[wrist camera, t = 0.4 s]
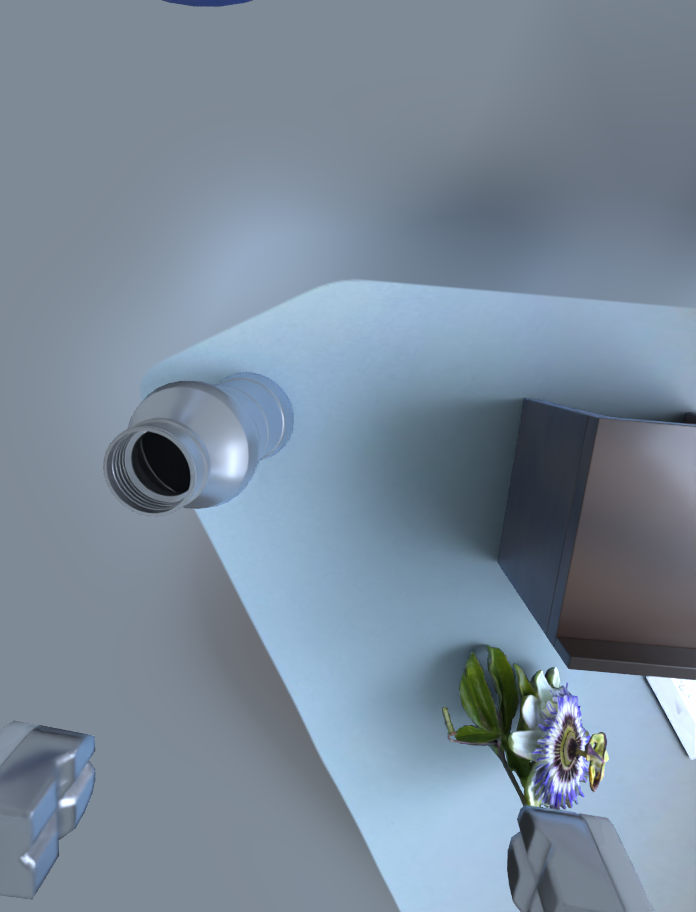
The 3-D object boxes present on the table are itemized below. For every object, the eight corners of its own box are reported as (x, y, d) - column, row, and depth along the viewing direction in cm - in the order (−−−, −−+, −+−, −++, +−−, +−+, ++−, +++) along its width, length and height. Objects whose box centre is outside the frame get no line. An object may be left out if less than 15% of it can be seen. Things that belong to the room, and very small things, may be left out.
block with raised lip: (523, 398, 37) (618, 422, 24) (701, 413, 37) (900, 447, 24) (497, 562, 40) (567, 669, 27) (661, 577, 40) (817, 692, 26)
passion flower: (530, 652, 48) (628, 777, 39) (440, 712, 47) (520, 852, 39) (520, 607, 40) (640, 751, 31) (412, 678, 39) (505, 846, 31)
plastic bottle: (255, 468, 39) (150, 583, 19) (199, 405, 38) (30, 458, 18) (315, 419, 38) (267, 488, 18) (259, 353, 37) (147, 351, 18)
